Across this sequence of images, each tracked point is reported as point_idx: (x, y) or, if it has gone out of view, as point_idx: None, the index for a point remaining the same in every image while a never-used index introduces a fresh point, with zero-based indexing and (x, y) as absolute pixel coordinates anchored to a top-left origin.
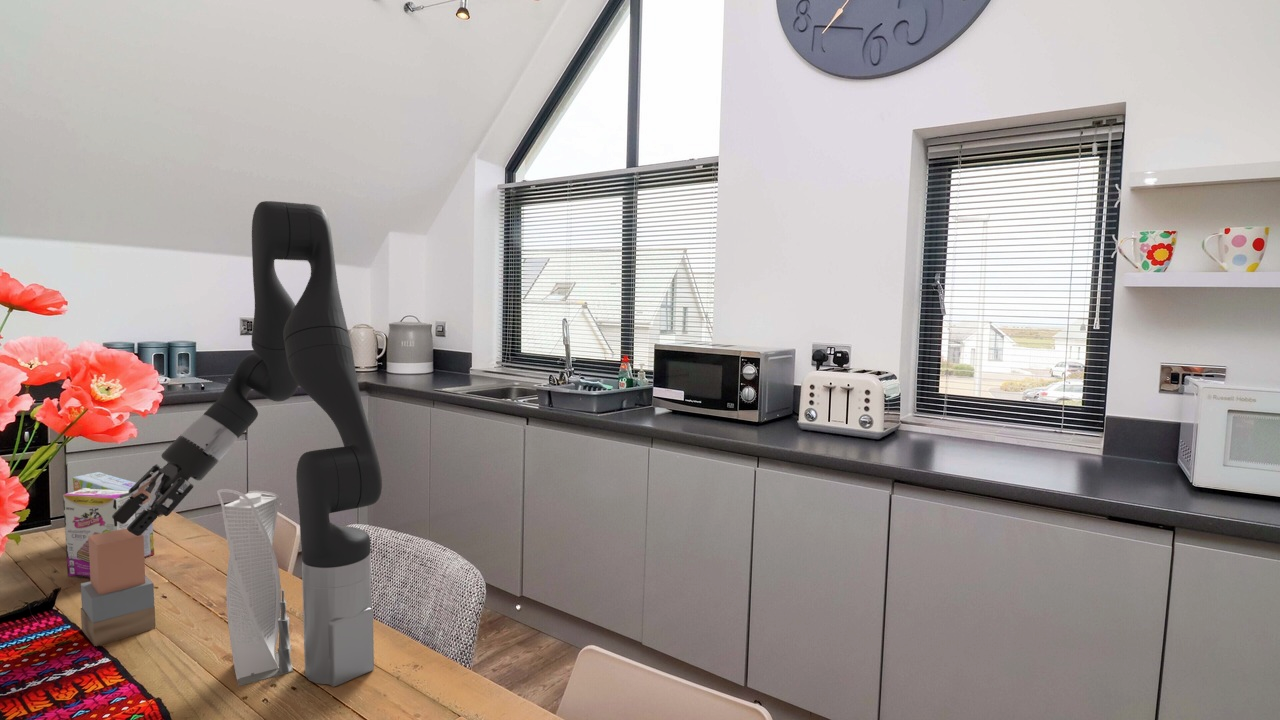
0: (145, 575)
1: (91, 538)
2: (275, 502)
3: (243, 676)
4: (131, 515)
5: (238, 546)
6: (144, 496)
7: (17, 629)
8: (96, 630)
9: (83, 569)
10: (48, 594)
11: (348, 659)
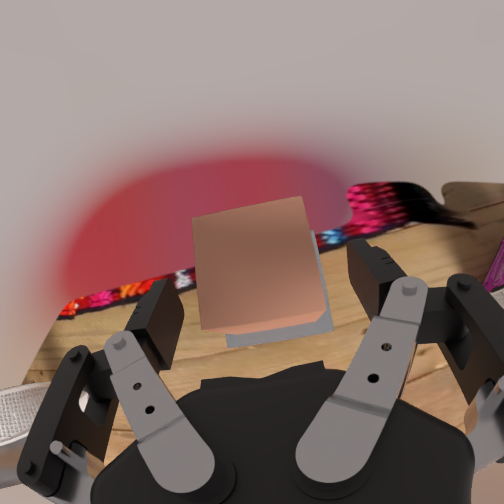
0: (286, 338)
1: (267, 202)
2: None
3: None
4: (361, 300)
5: None
6: (439, 343)
7: (357, 188)
8: None
9: (502, 249)
10: (459, 216)
11: None
